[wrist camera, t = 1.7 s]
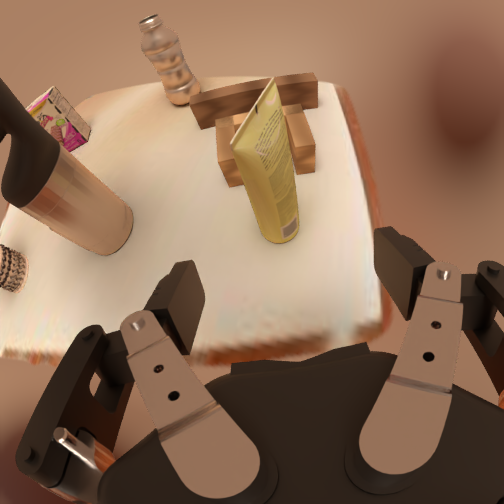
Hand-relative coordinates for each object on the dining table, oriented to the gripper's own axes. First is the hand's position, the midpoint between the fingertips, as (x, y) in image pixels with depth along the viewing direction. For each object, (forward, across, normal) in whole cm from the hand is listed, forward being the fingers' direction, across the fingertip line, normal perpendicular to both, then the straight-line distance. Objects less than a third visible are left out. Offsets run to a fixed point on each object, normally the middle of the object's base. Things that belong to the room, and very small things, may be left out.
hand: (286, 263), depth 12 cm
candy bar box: (+44, +43, -15) cm, 64 cm away
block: (+30, 0, -1) cm, 30 cm away
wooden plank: (+37, 0, -9) cm, 38 cm away
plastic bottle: (+44, +13, -15) cm, 49 cm away
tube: (+22, 0, +7) cm, 23 cm away
